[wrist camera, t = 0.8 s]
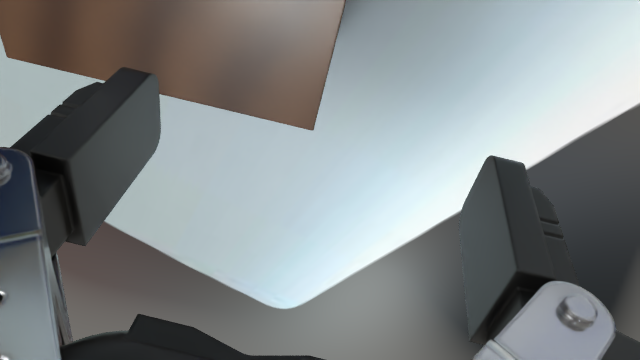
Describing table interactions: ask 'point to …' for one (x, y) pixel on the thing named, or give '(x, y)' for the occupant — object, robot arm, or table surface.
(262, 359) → the robot arm
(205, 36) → the box
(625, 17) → the table surface
